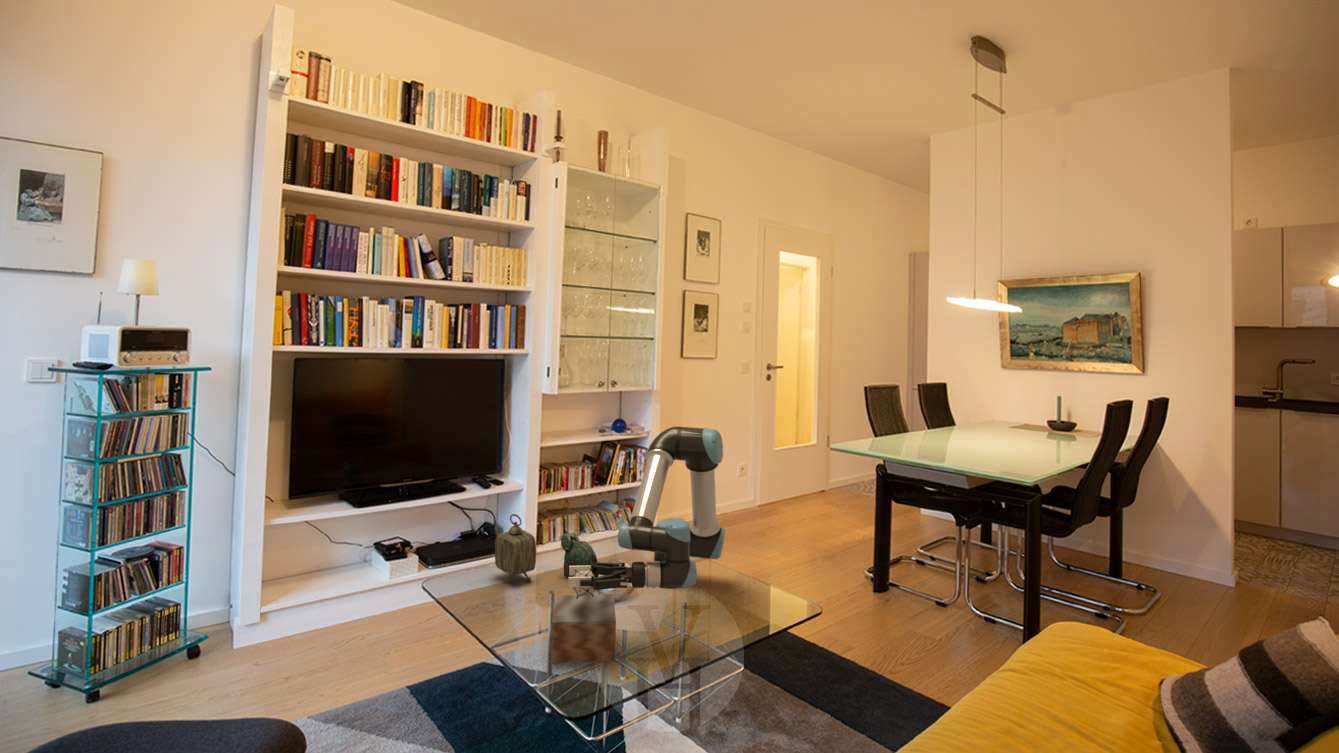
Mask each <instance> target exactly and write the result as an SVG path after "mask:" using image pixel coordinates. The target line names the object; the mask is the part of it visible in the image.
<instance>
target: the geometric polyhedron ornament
mask: <svg viewBox="0 0 1339 753" xmlns="http://www.w3.org/2000/svg"><path fill="white" fill-rule="evenodd" d="M591 570H592V568H590V570H585V571H577V570H575V572H576V573H575V576H574V577H591V576H594V575H593V573H592V571H591ZM594 578H595V576H594ZM572 589H573V591H574V593H575V595H577V597H576V599H578V596H586V595H592V597H594V595H595V594H594V592H595V590H594V588H592V587H572Z"/></svg>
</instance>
